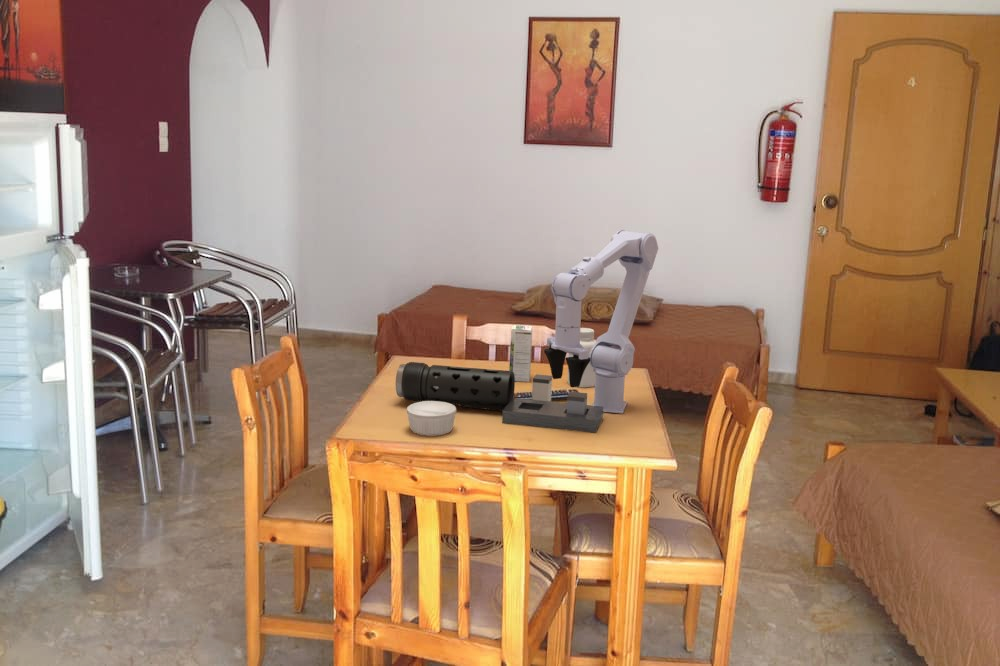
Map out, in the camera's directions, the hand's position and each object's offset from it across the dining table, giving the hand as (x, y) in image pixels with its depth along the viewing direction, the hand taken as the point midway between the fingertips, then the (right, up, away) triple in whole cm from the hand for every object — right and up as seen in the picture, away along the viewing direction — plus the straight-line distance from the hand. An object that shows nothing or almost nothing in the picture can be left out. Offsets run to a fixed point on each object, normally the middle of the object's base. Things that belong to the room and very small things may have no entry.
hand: (565, 382), depth 220 cm
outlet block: (-3, -9, +3) cm, 10 cm away
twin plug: (+3, -10, +2) cm, 10 cm away
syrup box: (-10, -1, +38) cm, 40 cm away
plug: (-5, -6, +16) cm, 18 cm away
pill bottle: (+7, -2, +35) cm, 36 cm away
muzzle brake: (-26, -7, +12) cm, 30 cm away
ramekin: (-31, -11, -6) cm, 33 cm away
